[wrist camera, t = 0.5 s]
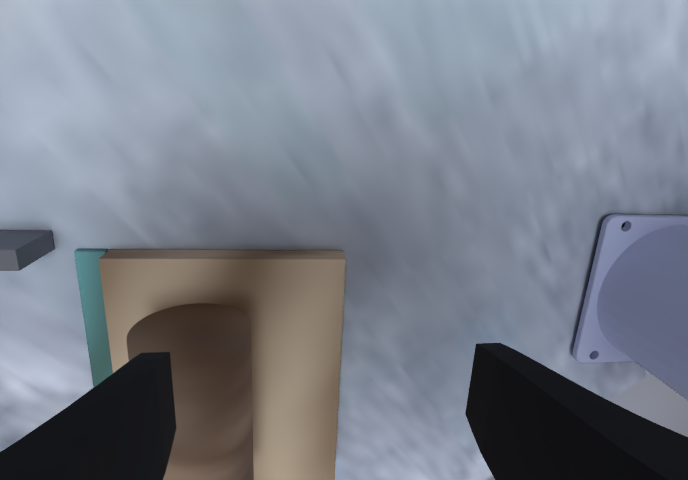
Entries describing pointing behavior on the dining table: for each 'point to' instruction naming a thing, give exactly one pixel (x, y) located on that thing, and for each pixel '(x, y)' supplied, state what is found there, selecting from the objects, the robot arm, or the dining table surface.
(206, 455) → the roller
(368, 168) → the dining table surface
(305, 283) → the tan flat square slab
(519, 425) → the robot arm
